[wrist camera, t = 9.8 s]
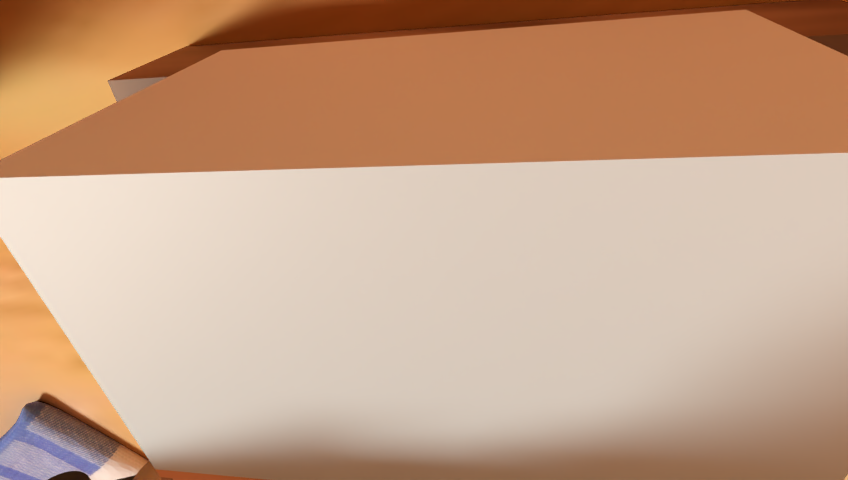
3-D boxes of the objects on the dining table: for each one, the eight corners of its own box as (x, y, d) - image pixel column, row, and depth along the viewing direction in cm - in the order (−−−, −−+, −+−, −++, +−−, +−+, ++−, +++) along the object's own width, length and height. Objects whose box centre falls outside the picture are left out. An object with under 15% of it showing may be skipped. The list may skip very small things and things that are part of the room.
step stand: (833, -2, 11) (1131, 87, 6) (675, 497, 22) (727, 691, 17) (186, 46, 14) (-22, 136, 9) (329, 466, 25) (277, 624, 19)
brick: (684, 282, 12) (745, 9, 9) (802, 547, 7) (1047, 146, 4) (291, 277, 14) (222, 50, 11) (166, 485, 9) (-38, 179, 6)
